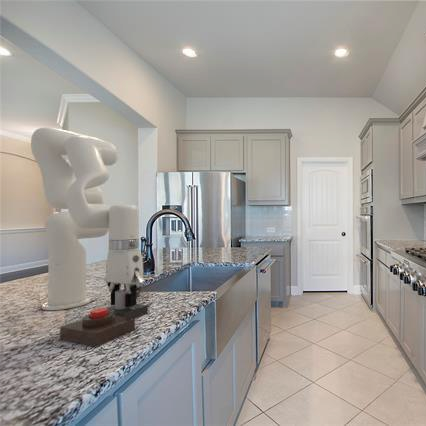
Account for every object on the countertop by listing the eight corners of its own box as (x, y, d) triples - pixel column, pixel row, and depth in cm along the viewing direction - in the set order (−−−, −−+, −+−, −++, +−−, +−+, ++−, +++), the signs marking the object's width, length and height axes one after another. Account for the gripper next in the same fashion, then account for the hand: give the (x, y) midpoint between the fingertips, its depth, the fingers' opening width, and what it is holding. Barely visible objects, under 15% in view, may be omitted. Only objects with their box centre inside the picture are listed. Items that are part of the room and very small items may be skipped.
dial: (122, 310, 83) (122, 292, 83) (111, 308, 84) (111, 291, 84) (135, 305, 87) (135, 288, 87) (125, 304, 88) (125, 287, 88)
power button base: (59, 340, 69) (60, 319, 69) (102, 324, 79) (102, 306, 79) (95, 347, 66) (95, 325, 66) (134, 330, 75) (134, 311, 75)
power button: (86, 318, 71) (86, 311, 71) (101, 313, 74) (101, 307, 74) (96, 320, 70) (96, 313, 70) (111, 315, 73) (111, 308, 73)
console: (97, 318, 83) (97, 309, 83) (124, 309, 91) (124, 301, 91) (122, 322, 80) (122, 313, 80) (148, 312, 88) (148, 304, 88)
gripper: (156, 245, 87) (156, 304, 87) (115, 243, 92) (115, 298, 92) (133, 247, 80) (133, 312, 80) (90, 245, 85) (90, 306, 85)
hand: (123, 304), depth 86 cm, fingers open, 5 cm apart
